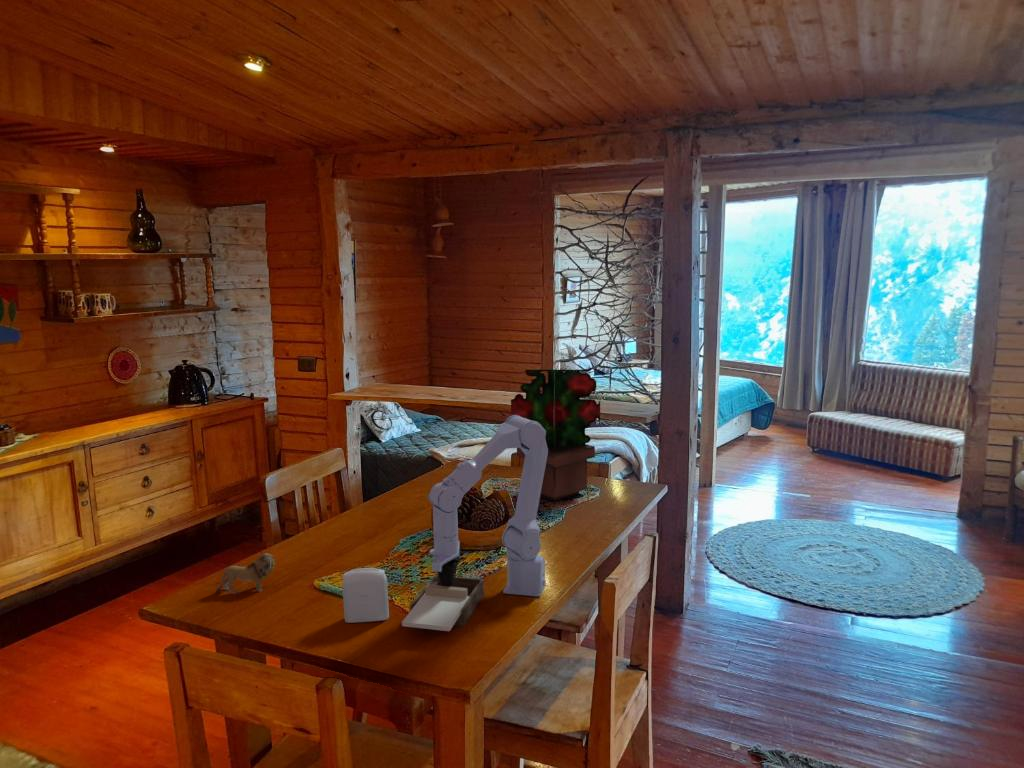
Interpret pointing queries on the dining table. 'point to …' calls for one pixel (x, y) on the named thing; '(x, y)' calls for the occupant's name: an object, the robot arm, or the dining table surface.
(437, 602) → the cover plate
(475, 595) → the walnut box
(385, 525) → the dining table surface
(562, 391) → the potted plant
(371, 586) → the photo printer
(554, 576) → the dining table surface
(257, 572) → the lion figurine
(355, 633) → the dining table surface
